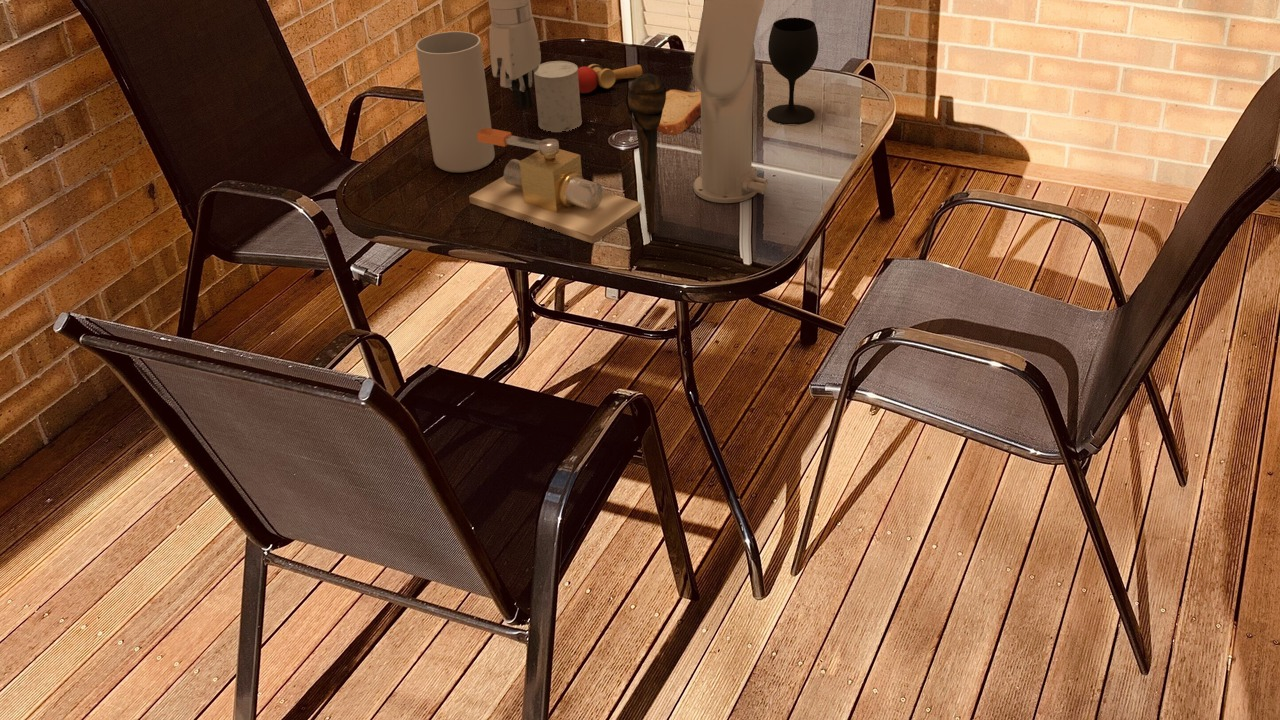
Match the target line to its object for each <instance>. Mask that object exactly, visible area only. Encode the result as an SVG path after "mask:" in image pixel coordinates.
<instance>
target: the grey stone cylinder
mask: <svg viewBox="0 0 1280 720" xmlns="http://www.w3.org/2000/svg"><path fill="white" fill-rule="evenodd" d="M538 66H539V68H538V70H537V71H536V72H535V73H534V74H533V78H534V81H533V82H534V88H535V100H536V110H537V111H536V112H537V120H538V128H540V129H541V130H542V129H543V131H545V130H546V132H548V131H551V133H563V132H562V131H566V132H570V131H573V130H572V129H574V130H575V128H576V129H578V128H579V127H581V126H582V124H583V123H582V122H583V120H582V111H581V97H580V96H581V95H580V94H581V93H579V81H578V68H579V66H578V65H577V64H575V63H573V62H570V61H566V60H554V61H553V60H552V61H547V62H543V63H542V62H541V63H540V64H539V65H538ZM577 127H578V128H577ZM569 130H570V131H569Z"/></svg>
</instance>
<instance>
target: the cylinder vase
mask: <svg viewBox="0 0 1280 720" xmlns="http://www.w3.org/2000/svg"><path fill="white" fill-rule="evenodd" d="M482 49H483V48H482V41H481V38H480V36H479V35H478V34H476V33H472V32H468V31H458V30H457V31H455V30H454V31H444V32H443V31H442V32H438V33H433V34H429V35H427V36H425V37H422V38H420V39H419V40H418V41H417V42H415V50H416V56H417V62H418V63H417V64H418V68H419V69H418V70H419V76H420V82H421V83H420V84H421V88H422V94H423V99H424V100H423V101H424V107H425V113H426V119H427V120H426V121H427V124H428V133H429V139H430V144H431V149H432V157H433V158H432V159H433V162H434V165H435V166H436V167H437V168H439V169H440V170H443V171H444V172H448V173H459V174H460V173H461V174H462V173H469V172H474V171H478V170H480V169H483V168H485V167H488V166H489V165H490V164H491V163H492V162H493V161H494V159H495V157H496V156H495V155H496V153H495V147H494V146H495V145H493V144H488V143H483V142H478V137H477V132H479V131H480V130H482V129H483V128H490V129H493V128H492V121H491V113H490V112H491V111H490V107H489V105H490V104H489V97H488V89H487V80H486V73H485V65H484V57H483V50H482Z"/></svg>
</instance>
